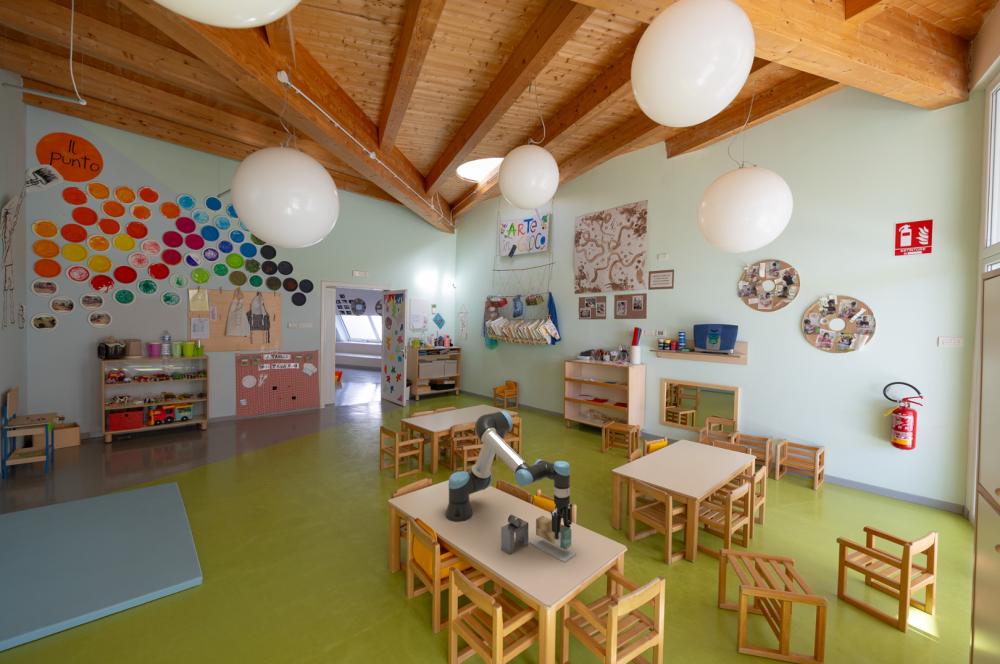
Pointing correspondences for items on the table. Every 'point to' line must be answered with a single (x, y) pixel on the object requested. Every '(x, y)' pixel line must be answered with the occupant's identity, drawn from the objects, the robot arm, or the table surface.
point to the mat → (553, 549)
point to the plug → (546, 532)
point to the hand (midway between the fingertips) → (561, 542)
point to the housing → (508, 534)
